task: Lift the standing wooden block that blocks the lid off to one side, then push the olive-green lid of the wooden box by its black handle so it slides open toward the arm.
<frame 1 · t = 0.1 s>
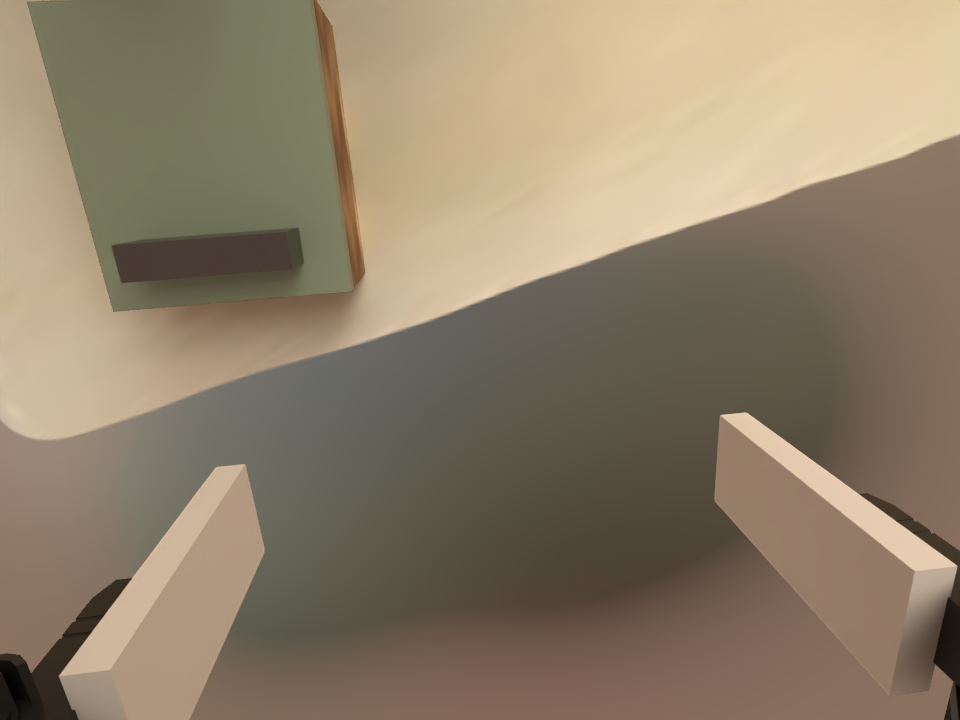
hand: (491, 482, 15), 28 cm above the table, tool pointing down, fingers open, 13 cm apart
lid: (197, 159, 30), point 8 cm above the table, slide at 0.0 cm
wooden box: (246, 164, 38), on the table
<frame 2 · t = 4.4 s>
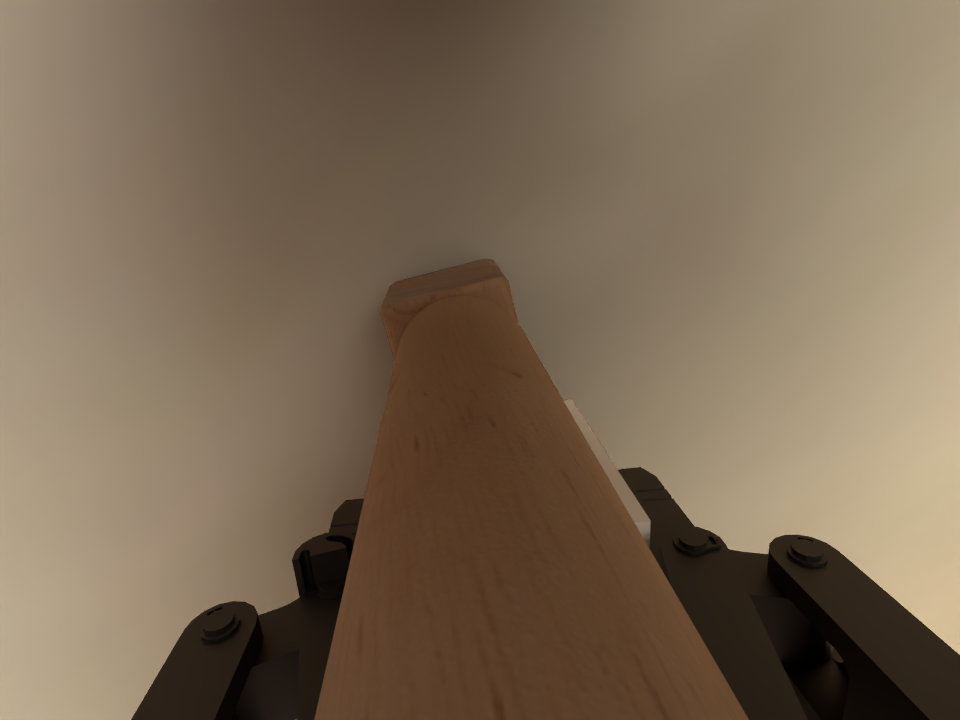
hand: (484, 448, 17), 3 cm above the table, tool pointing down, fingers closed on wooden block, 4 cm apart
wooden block: (479, 411, 20), on the table, touching gripper
when the fingers open (4 cm above the table, at t = 11.6 s): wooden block drops 1 cm, on the table.
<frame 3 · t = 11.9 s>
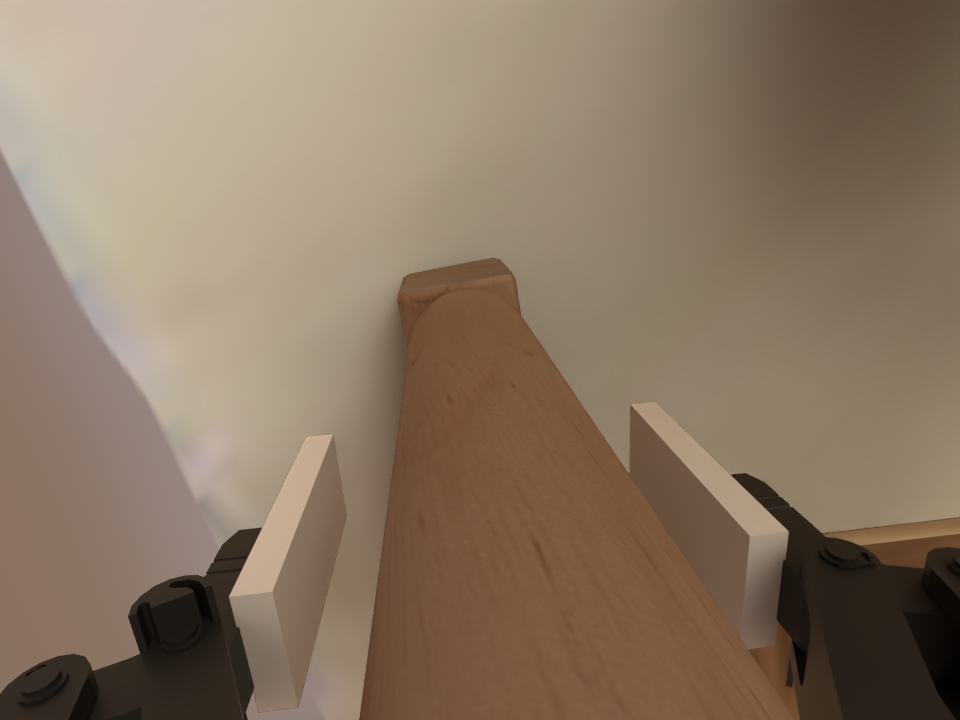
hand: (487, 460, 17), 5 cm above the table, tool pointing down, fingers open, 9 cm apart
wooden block: (477, 400, 22), on the table
wooden box: (863, 665, 27), on the table
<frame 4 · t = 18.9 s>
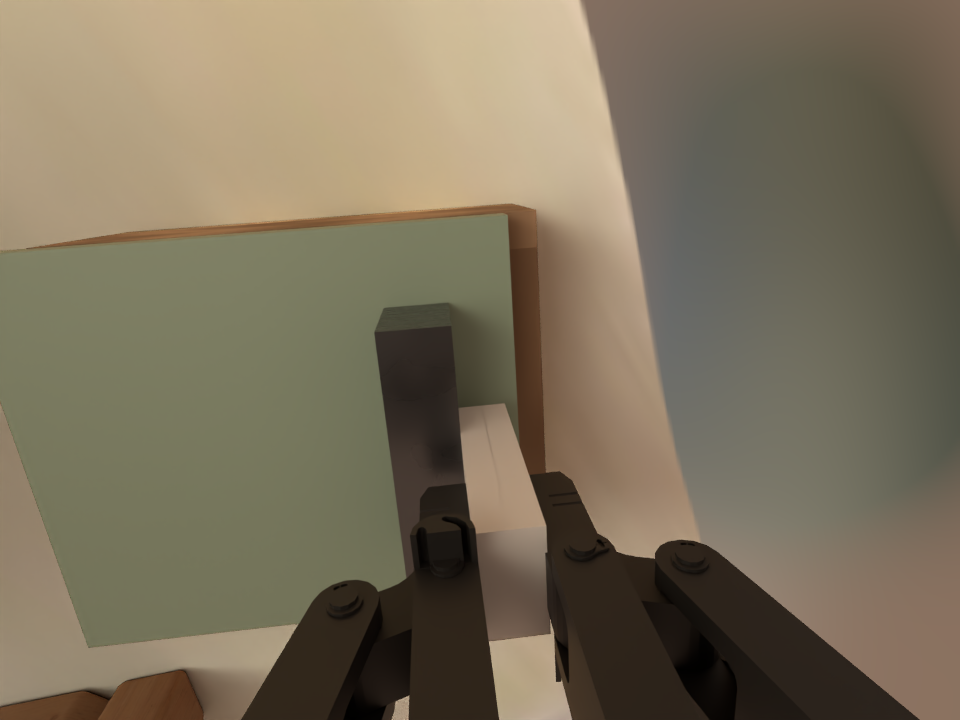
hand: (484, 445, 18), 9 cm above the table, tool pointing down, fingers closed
lid: (271, 464, 18), point 8 cm above the table, slide at 1.1 cm, touching gripper
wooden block: (100, 707, 30), on the table
wooden box: (346, 374, 26), on the table
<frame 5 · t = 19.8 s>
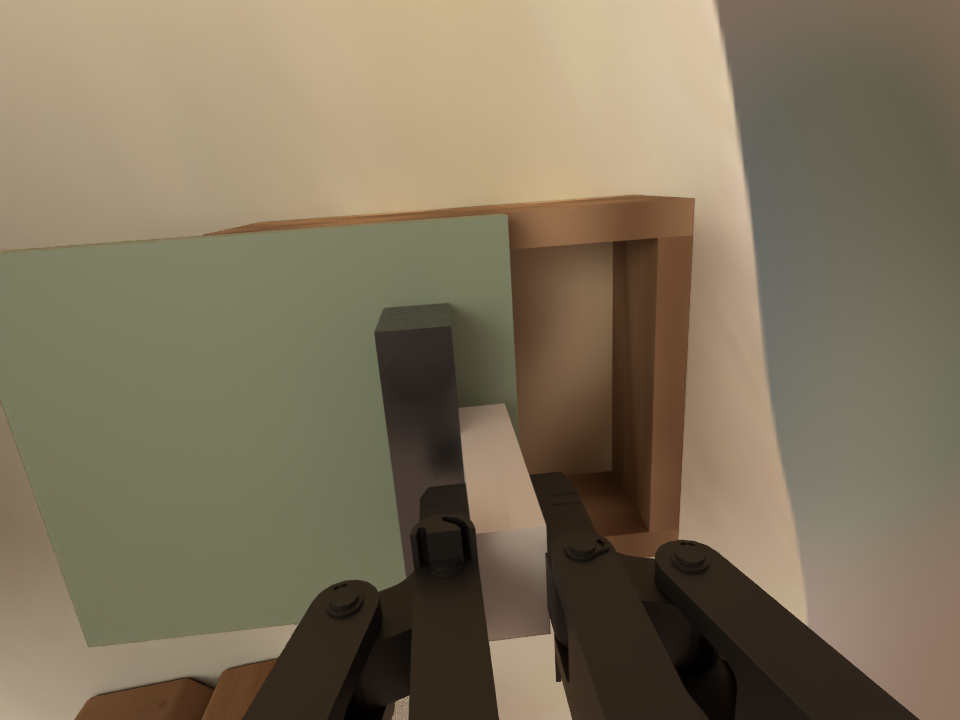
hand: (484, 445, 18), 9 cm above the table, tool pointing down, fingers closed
lid: (271, 464, 18), point 8 cm above the table, slide at 6.5 cm, touching gripper
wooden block: (200, 695, 31), on the table
wooden box: (462, 364, 26), on the table
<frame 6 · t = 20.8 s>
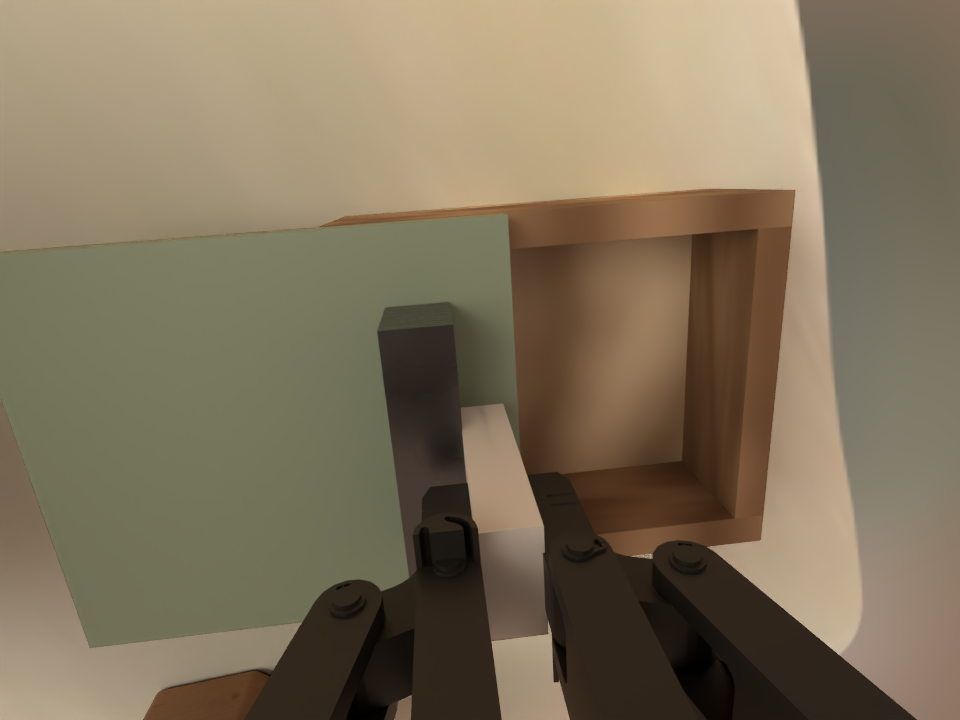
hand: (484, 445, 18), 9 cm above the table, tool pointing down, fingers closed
lid: (273, 463, 18), point 8 cm above the table, slide at 10.1 cm, touching gripper
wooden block: (267, 687, 31), on the table
wooden box: (537, 356, 26), on the table
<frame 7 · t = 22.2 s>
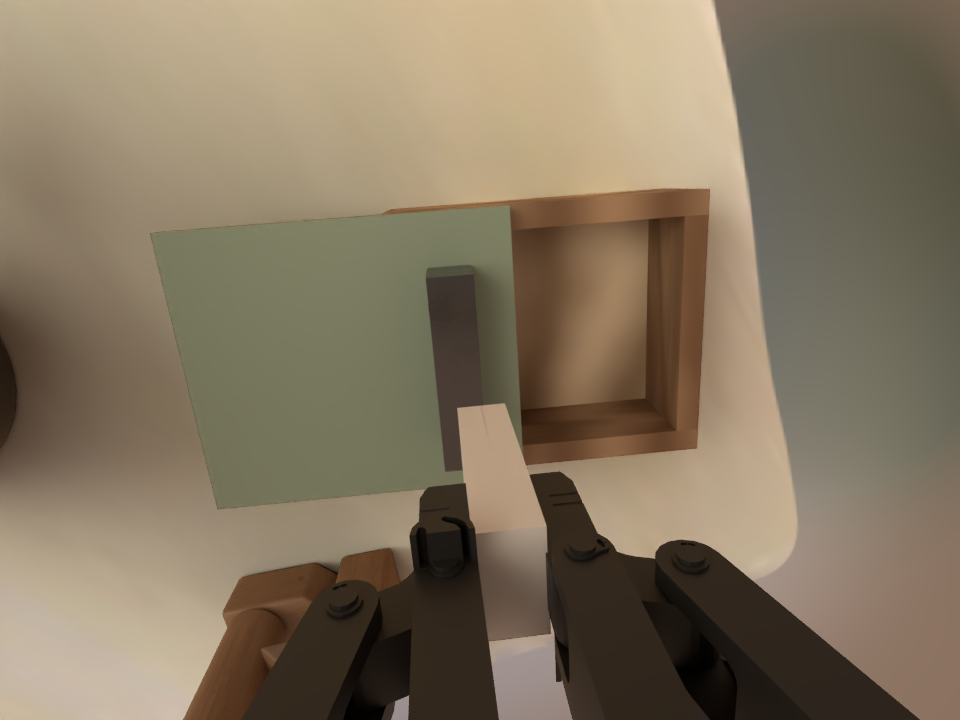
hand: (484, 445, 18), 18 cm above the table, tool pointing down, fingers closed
lid: (351, 373, 26), point 8 cm above the table, slide at 10.0 cm
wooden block: (322, 579, 40), on the table
wooden box: (533, 315, 35), on the table
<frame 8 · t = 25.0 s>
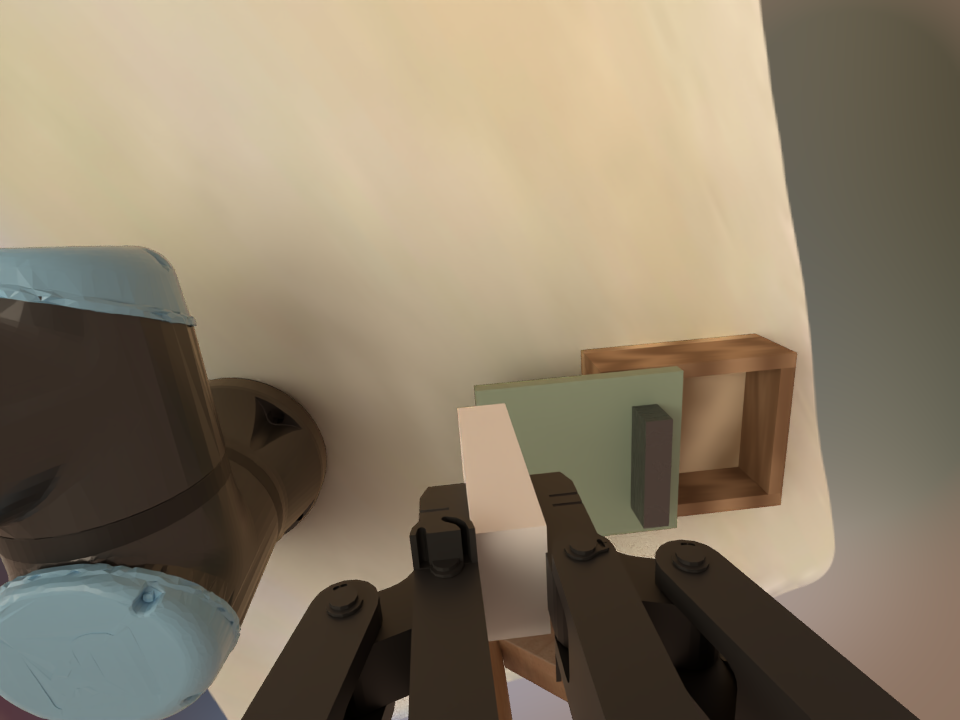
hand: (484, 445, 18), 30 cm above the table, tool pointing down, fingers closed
lid: (584, 469, 43), point 8 cm above the table, slide at 10.0 cm
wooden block: (508, 589, 57), on the table
wooden box: (666, 413, 52), on the table
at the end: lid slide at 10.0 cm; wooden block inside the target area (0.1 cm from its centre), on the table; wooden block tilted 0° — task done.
